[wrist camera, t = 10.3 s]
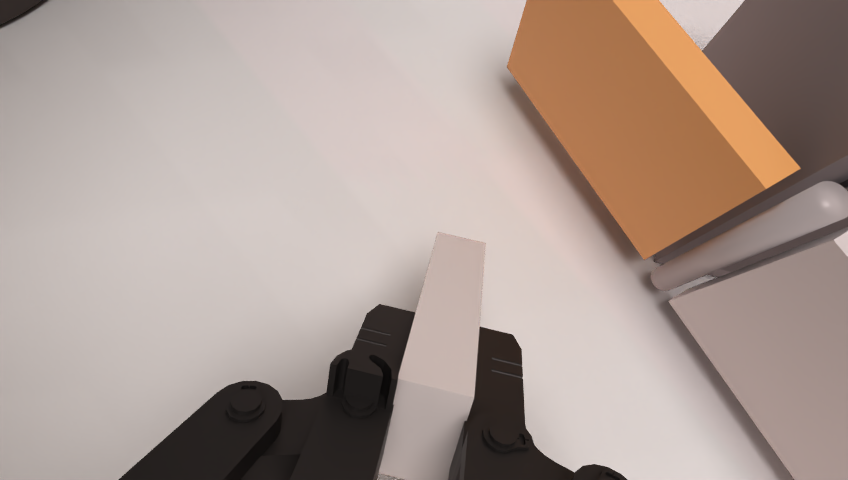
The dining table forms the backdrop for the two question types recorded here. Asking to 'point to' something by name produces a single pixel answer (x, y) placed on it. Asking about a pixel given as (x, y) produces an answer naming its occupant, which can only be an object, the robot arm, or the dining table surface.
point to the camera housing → (785, 103)
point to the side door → (704, 209)
